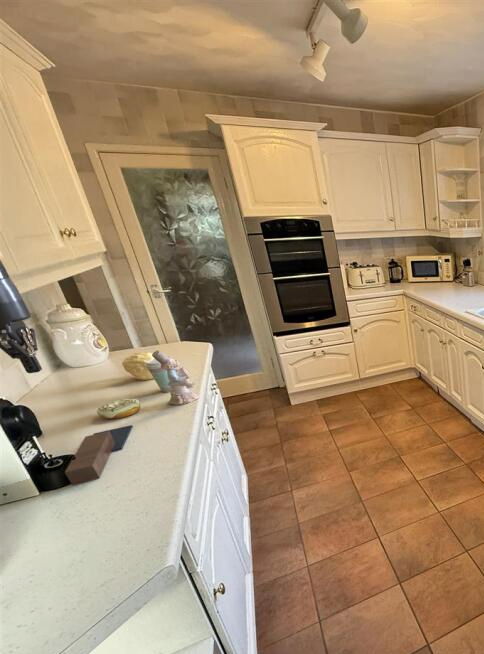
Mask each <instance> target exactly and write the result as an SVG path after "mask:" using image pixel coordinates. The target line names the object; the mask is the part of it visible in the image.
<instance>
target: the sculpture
mask: <svg viewBox="0 0 484 654" xmlns="http://www.w3.org/2000/svg"><path fill="white" fill-rule="evenodd" d="M153 353H154V352H149V351H147V352H134V354H131V355H130V356H127V357H125V358H124V359H123V361H122V363H121V365H122V367H123V369H124V371H126V372H127V373H129V374H130V376H132V377H133V378H135V379H137V380H141V381H146V380H147V381H149V380H152V379H154V378H153V376H152V374H151V373H150V371H149V369H147V368H146V362H147V361H149V360H151V359H155V358H154V357H153V356H152V354H153Z"/></svg>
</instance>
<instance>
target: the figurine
mask: <svg viewBox="0 0 484 654" xmlns="http://www.w3.org/2000/svg"><path fill="white" fill-rule="evenodd" d="M152 353H153V354H152V356H153V357H154V358H155V359H156V360H157V361H158V362H159V363H161V368H162V369H164V370H167V376H168V379H169V382H168V385H169V386H170V387H171V388H172V390H170V392H169V394H170V398H169V401H168V404H171V405H175V406H177V405H179V406H180V405H186V404H189V403H192V402H194V401H196V400H197V399H199V395H198V394H197V393H196V392H194V391H192V390H191V389H193V388H194V385H196V382H194V381H190V379H191V378H192V377H191V374H190V372H189V370H187V368H186V367H184V366H182V367H180V368H177V367H179V366H180V365H181V364H180V362H179V361H178V359H174V357H172V356H168V355H167V354H165V353H164V352H162V351H160V350H155V351H154V352H152ZM173 359H174V360H173ZM176 369H177V370H176Z"/></svg>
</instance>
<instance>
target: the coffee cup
mask: <svg viewBox="0 0 484 654" xmlns="http://www.w3.org/2000/svg"><path fill="white" fill-rule="evenodd" d="M173 360H175V359H174V358H173ZM146 368H147V369H149V371H150V373H151V374H152V376H153V379H154V381H155V383H156V384H157V387H158V388H159V389H160V391H161V392H162V393H170V390H172V388H171V387H170V386H169V385H168V382H169V379H168V376H167V370H164V369H162V368H161V363H159V362H158V361H157V360H156V359H151V360H149V361H147V362H146ZM176 370H178V368H176Z"/></svg>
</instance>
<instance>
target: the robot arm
mask: <svg viewBox="0 0 484 654" xmlns="http://www.w3.org/2000/svg"><path fill="white" fill-rule="evenodd" d="M31 317H32V315H31V313H30V311H29V308H28V307H27V305H26V303H25V301H24V299H23V296H22V295H21V293H20V291H19V289H18V287H17V286H16V285H15V283H14V282H13V280H12V279H11V277H10V275H9V273H8V271H7V269H6V267H5V266H4V264H3V261H2V260H1V259H0V350H1V351H3V352H4V353H5V354H7V355H8V357H10V358H11V359H13V360H14V359H17V360H19V361H20V363H21V364H22V367H23V368H24V371H25V372H26V373H27V374H36V373H39V372H41V371H42V370H43V368H42V366H41V364H40V362H39V360H38V358H37V352H38V351H39V350H38V344H37V343H38V342H37V337H36V331H35V328H33V327H32V328H31V327H30V328H29V326H27V325H26V323H25V322H24V321H26V320H28V319H30V318H31Z"/></svg>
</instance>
